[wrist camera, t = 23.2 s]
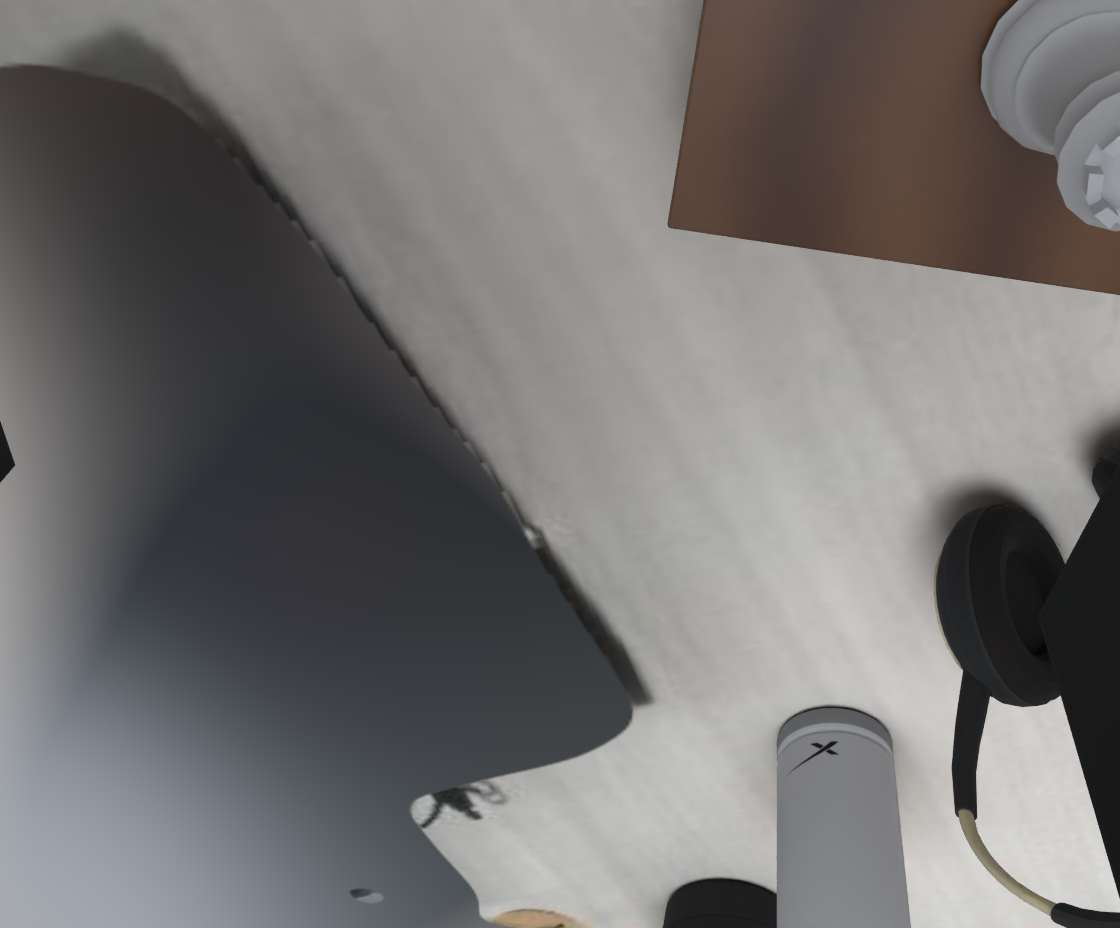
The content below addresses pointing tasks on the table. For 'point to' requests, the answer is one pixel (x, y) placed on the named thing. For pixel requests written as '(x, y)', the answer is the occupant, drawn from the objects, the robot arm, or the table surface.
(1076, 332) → the table surface
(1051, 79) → the rook chess piece
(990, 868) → the headphones
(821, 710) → the travel mug
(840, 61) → the chest lid
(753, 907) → the black portable speaker
